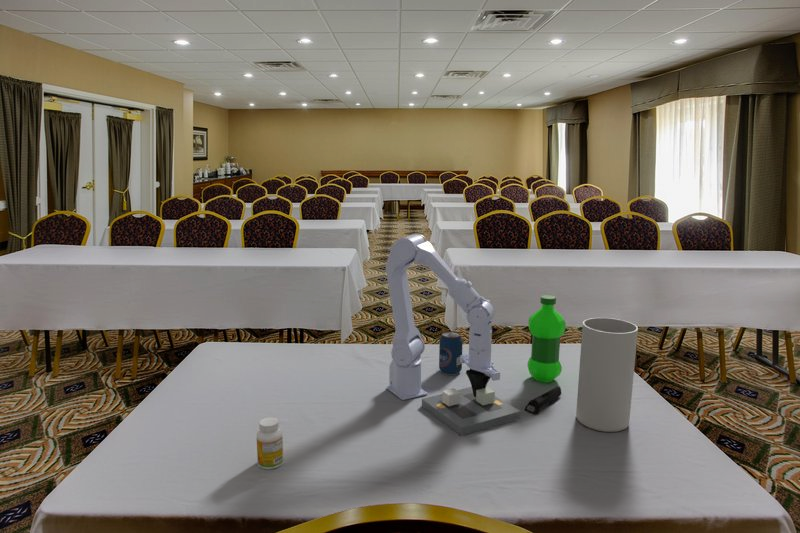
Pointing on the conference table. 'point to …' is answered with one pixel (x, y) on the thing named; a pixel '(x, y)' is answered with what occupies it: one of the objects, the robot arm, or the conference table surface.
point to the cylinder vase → (606, 373)
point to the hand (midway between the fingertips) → (478, 396)
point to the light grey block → (451, 397)
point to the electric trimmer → (543, 400)
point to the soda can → (450, 352)
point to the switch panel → (470, 412)
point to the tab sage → (485, 396)
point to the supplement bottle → (269, 444)
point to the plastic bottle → (546, 341)
